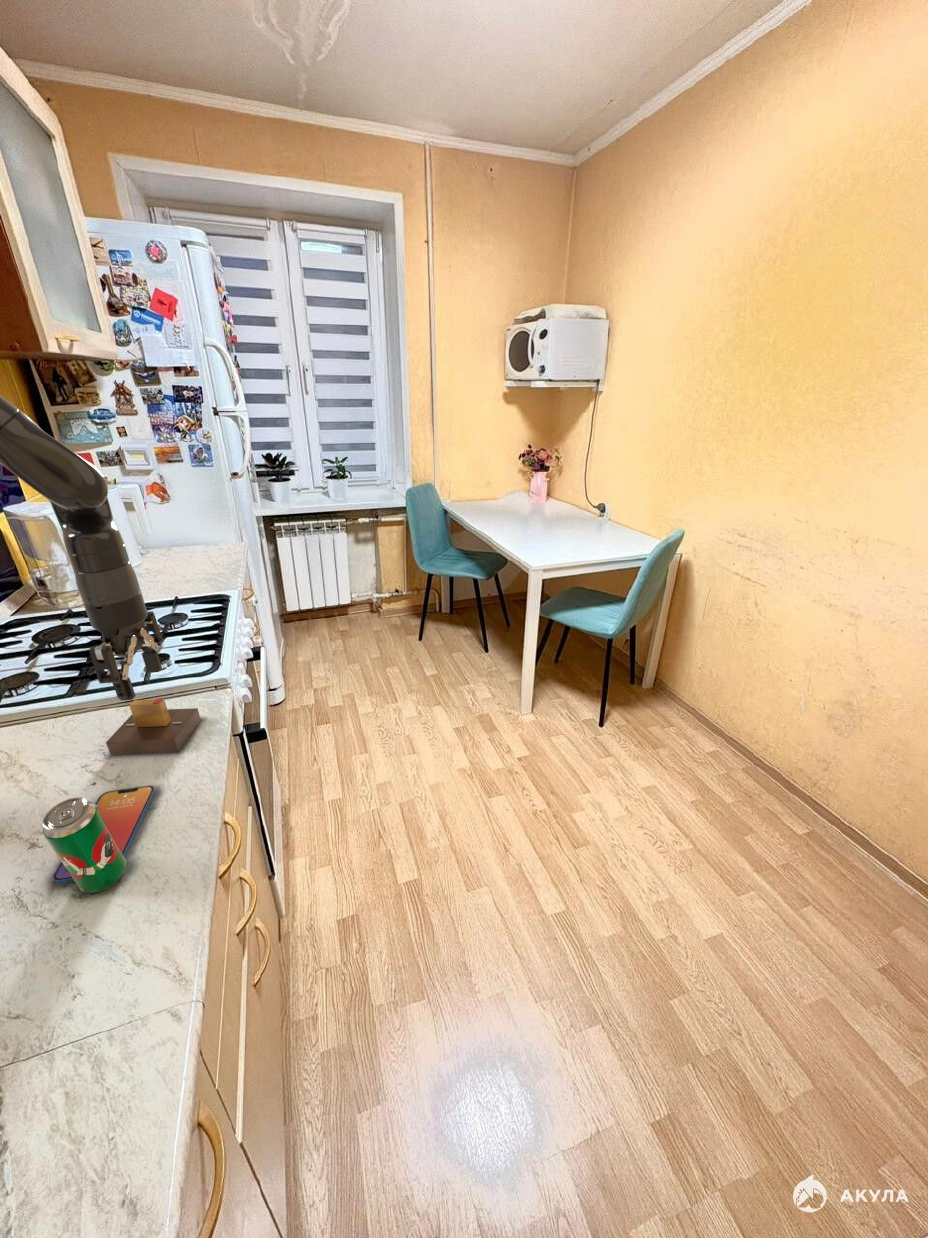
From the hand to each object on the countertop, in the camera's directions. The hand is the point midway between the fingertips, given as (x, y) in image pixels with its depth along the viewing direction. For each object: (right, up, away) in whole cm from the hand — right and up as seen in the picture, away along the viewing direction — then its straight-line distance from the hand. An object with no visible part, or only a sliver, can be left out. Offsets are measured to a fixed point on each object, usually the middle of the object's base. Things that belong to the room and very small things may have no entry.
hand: (142, 684), depth 82 cm
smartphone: (+5, -19, -14) cm, 24 cm away
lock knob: (0, -7, +3) cm, 8 cm away
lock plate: (0, -10, +5) cm, 11 cm away
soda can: (+9, -21, -20) cm, 31 cm away
